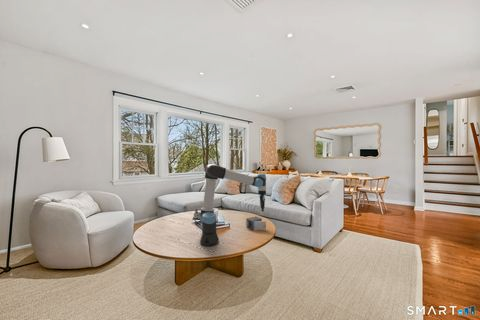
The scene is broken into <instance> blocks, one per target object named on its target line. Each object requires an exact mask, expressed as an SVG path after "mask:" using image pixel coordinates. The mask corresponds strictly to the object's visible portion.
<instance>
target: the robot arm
mask: <svg viewBox="0 0 480 320" xmlns="http://www.w3.org/2000/svg"><path fill="white" fill-rule="evenodd" d="M204 179H205V186H204V187H205V188H204V193H203V194H204V195H203V202H202V203H203V204H202V205H203V206H201V208H200V215H199V219H200V221H201V222H200V223H201V237H200V239H199V243H200V245H201V246H203V247H213V246H216V245H218V244H219V242H220V241H219V240H220V239H219V236H218V233H217V215H216V213H215V209H214V208H213V207H214V199H215V191H216V182H217V181H218V180H219V179H221V180H224V179H226V180H229V181H233V182H237V183H241V184H246V185H247V186H252V187H256V188H257V194H258V195H259V205H260V215H261V216H263V215H265V207H266V206H265V204H266V198H265V197H266V196H265V195H267V175H266V174H265V173H258V174H257V175H256V176H251V175H248V174H245V173H244V174H243V173H241V172H238V171H233V170H230V169H227V168H226V167H223V166H221V165H218V164H217V163H213V162H211V163H208V164H207V165H206V166H205V168H204Z"/></svg>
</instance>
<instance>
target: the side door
mask: <svg viewBox="0 0 480 320" xmlns="http://www.w3.org/2000/svg"><path fill="white" fill-rule="evenodd" d="M266 230H267V221H266V220H265V221H264V220H262V221H253V230H252V231H253V232H254V231H266Z"/></svg>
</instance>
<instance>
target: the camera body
mask: <svg viewBox="0 0 480 320" xmlns="http://www.w3.org/2000/svg"><path fill="white" fill-rule="evenodd" d="M262 219H263V218H261V217H260V216H259V217H258V216H255V215H254V216H251V217H247V218H246V221H245V225H246V229H248V230H251V231H253V221H263V220H262Z"/></svg>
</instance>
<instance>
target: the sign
mask: <svg viewBox="0 0 480 320" xmlns="http://www.w3.org/2000/svg"><path fill="white" fill-rule="evenodd" d="M200 212H201V211H200ZM200 212H199V211H198V209H195V211H194V214H193V217H192V221H195V220H200V219H199V215H200Z"/></svg>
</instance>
